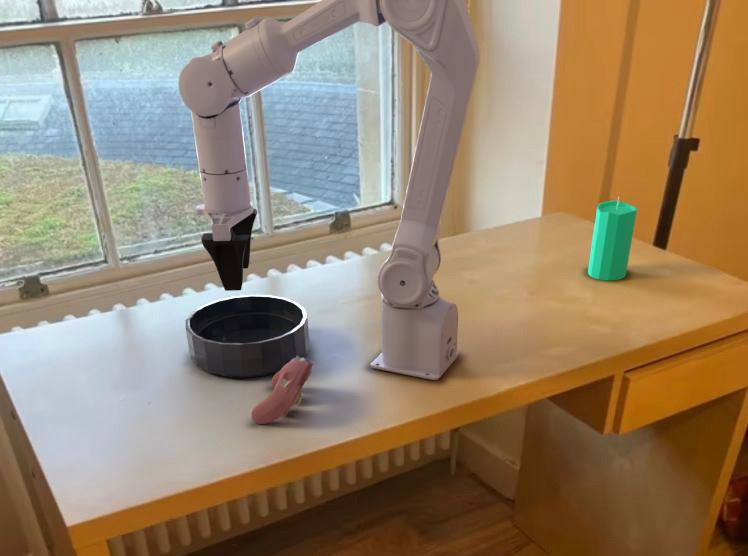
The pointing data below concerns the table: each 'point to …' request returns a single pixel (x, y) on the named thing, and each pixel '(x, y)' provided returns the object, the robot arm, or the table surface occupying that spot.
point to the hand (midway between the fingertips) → (237, 278)
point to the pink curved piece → (283, 391)
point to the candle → (612, 240)
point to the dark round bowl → (247, 335)
